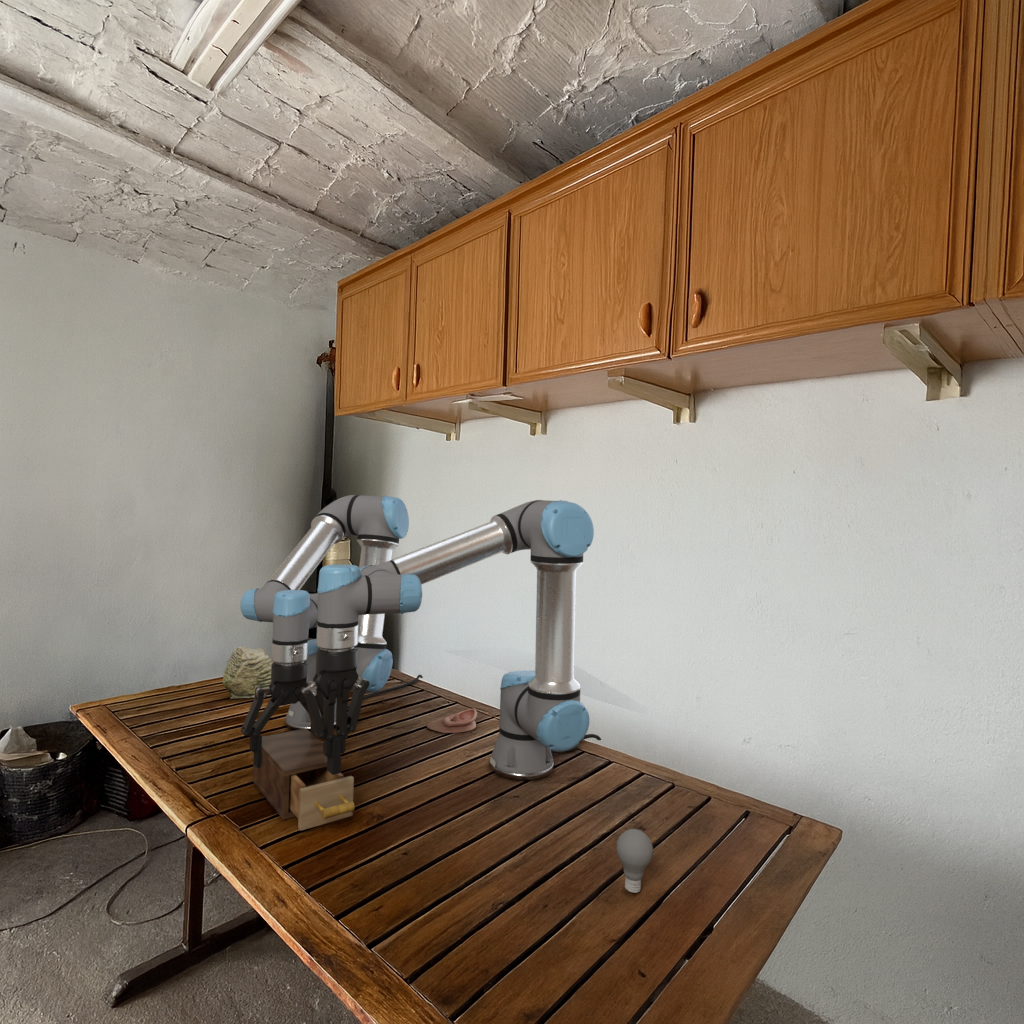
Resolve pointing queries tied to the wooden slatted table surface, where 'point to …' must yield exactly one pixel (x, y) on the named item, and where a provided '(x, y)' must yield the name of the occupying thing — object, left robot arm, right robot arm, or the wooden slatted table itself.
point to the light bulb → (634, 857)
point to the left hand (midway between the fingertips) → (286, 759)
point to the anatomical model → (455, 722)
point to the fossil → (247, 672)
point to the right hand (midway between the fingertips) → (333, 771)
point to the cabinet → (286, 765)
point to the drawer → (320, 797)
